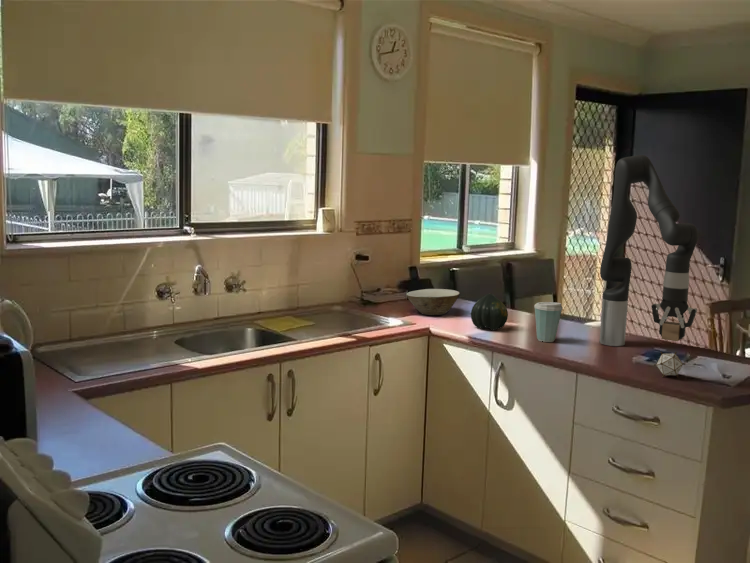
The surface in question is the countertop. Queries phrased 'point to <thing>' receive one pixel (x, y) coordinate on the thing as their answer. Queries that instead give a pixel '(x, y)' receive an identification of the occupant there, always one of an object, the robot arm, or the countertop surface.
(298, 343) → the countertop surface
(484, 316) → the squash
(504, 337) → the countertop surface
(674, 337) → the walnut block
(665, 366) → the game die
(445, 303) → the bowl
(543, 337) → the disposable coffee cup
